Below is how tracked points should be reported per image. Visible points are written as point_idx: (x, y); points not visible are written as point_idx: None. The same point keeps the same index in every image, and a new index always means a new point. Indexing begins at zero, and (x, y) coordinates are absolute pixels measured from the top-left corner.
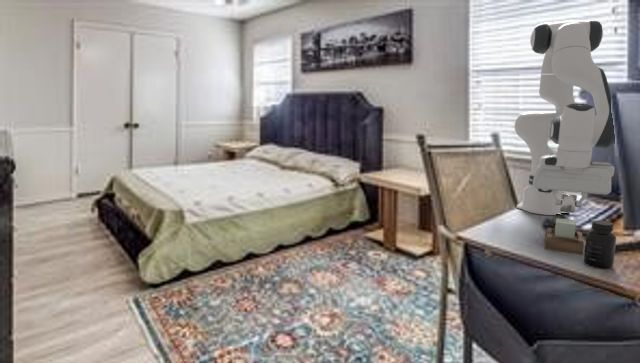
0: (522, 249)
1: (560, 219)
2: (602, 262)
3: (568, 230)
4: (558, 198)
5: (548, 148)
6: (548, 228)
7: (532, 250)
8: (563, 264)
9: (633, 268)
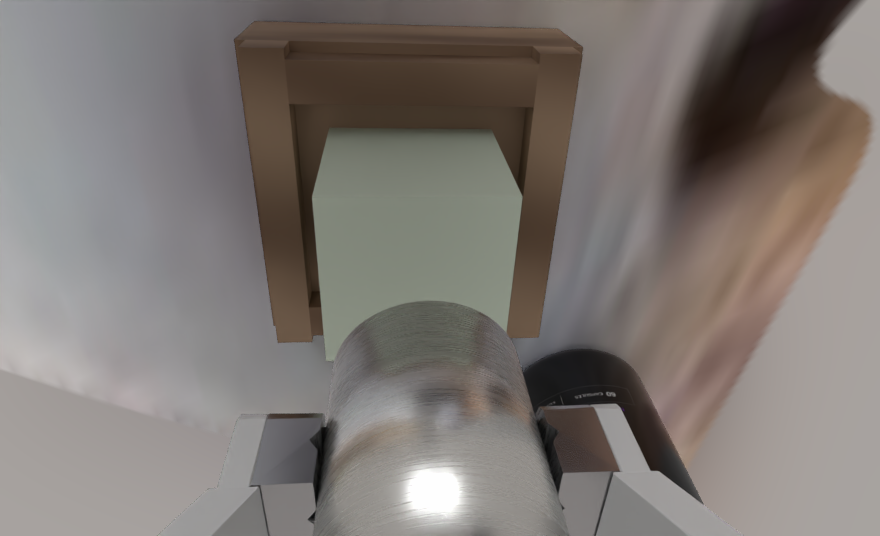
0: (154, 348)
1: (360, 235)
2: None
3: None
4: (267, 494)
5: None
6: (257, 90)
7: (217, 338)
8: None
9: (738, 371)
